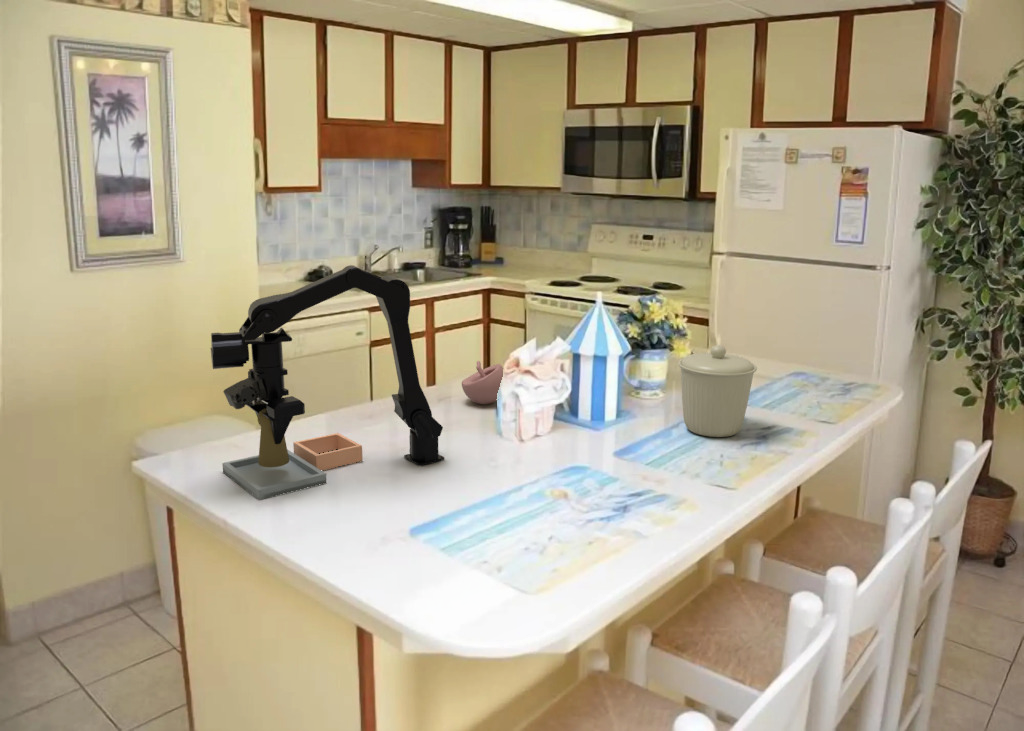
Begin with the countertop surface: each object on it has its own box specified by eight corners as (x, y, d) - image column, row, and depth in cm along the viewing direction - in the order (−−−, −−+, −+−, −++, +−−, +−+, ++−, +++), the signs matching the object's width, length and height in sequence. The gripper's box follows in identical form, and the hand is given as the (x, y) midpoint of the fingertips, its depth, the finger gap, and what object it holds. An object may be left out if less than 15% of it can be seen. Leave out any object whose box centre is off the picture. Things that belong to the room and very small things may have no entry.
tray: (326, 483, 168) (326, 473, 168) (258, 500, 160) (258, 490, 159) (287, 458, 182) (286, 449, 181) (222, 472, 173) (222, 463, 173)
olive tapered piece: (274, 454, 174) (271, 403, 171) (295, 460, 171) (293, 407, 168) (251, 463, 169) (247, 410, 166) (273, 469, 166) (270, 415, 163)
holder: (362, 461, 181) (362, 445, 180) (316, 472, 174) (316, 456, 173) (338, 447, 189) (338, 432, 188) (294, 457, 182) (293, 442, 181)
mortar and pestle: (463, 396, 230) (463, 355, 227) (508, 397, 230) (508, 356, 227) (459, 409, 218) (459, 366, 216) (505, 410, 218) (506, 367, 215)
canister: (716, 448, 192) (723, 357, 187) (658, 427, 206) (663, 342, 201) (767, 434, 202) (775, 348, 197) (708, 415, 217) (714, 334, 211)
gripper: (209, 361, 167) (215, 436, 171) (246, 381, 153) (252, 462, 157) (263, 353, 174) (268, 426, 178) (304, 371, 160) (308, 450, 164)
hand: (272, 440), depth 169 cm, fingers closed on olive tapered piece, 4 cm apart
